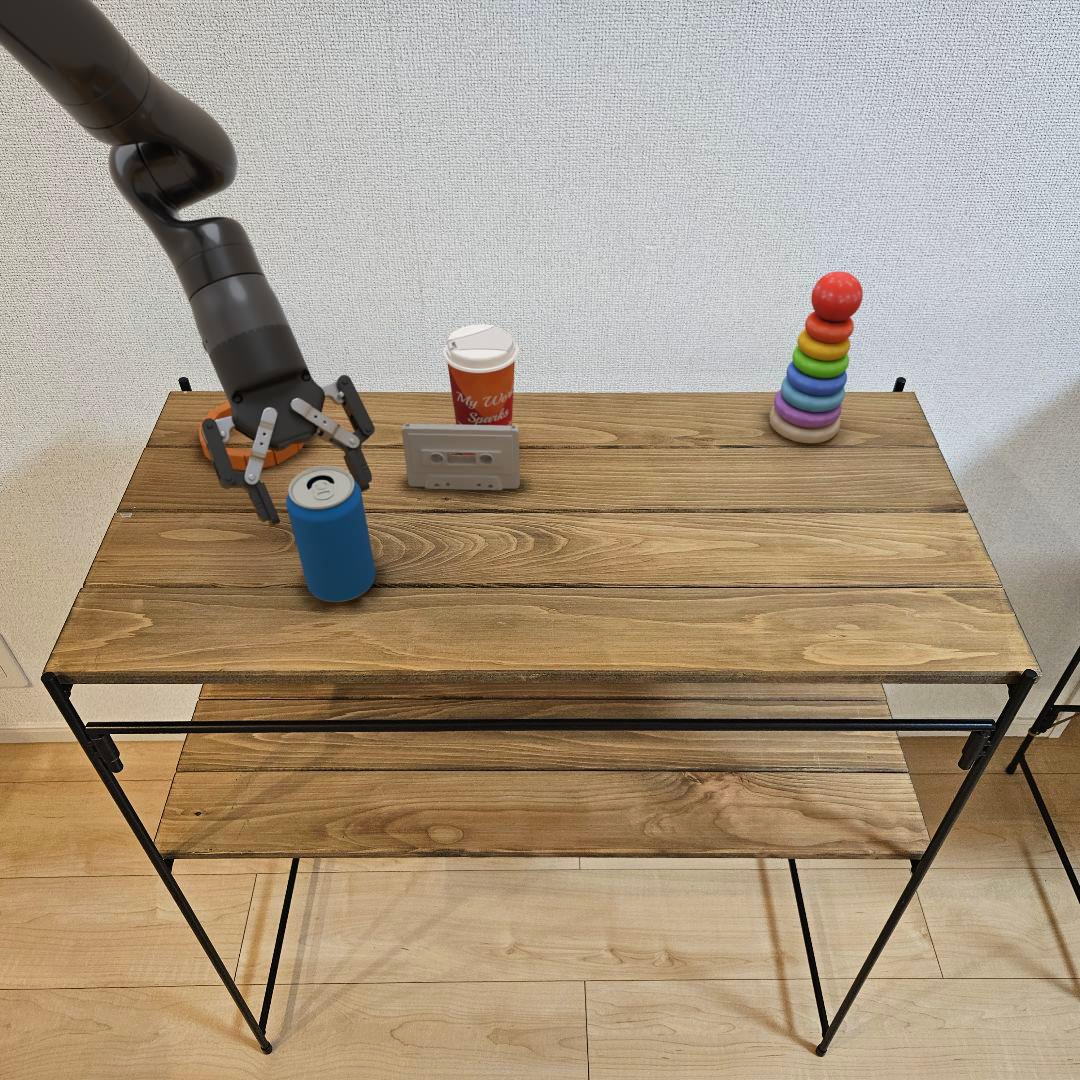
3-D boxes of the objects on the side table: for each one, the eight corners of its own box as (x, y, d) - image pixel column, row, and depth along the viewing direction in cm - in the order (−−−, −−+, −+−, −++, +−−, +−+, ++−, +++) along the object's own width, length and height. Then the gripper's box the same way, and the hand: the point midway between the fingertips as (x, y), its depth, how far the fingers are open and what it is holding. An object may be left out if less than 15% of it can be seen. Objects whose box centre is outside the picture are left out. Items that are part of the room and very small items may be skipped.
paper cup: (458, 477, 96) (450, 366, 86) (445, 436, 101) (435, 327, 92) (528, 465, 98) (527, 354, 88) (511, 425, 103) (509, 317, 93)
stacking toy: (845, 447, 100) (890, 295, 87) (774, 446, 100) (809, 294, 87) (830, 407, 106) (870, 258, 93) (762, 406, 106) (794, 257, 93)
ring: (208, 479, 96) (203, 465, 94) (199, 419, 104) (195, 405, 102) (315, 457, 99) (312, 442, 97) (299, 400, 107) (296, 386, 105)
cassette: (407, 489, 95) (399, 431, 89) (409, 478, 96) (402, 420, 91) (519, 491, 94) (518, 433, 89) (520, 480, 96) (519, 422, 90)
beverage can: (367, 551, 88) (350, 455, 79) (383, 596, 83) (366, 499, 75) (302, 568, 86) (277, 472, 78) (314, 615, 82) (289, 518, 73)
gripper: (168, 349, 73) (248, 531, 74) (330, 302, 78) (402, 472, 79) (168, 374, 80) (241, 541, 80) (317, 330, 85) (384, 486, 86)
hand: (321, 507), depth 80 cm, fingers open, 8 cm apart
